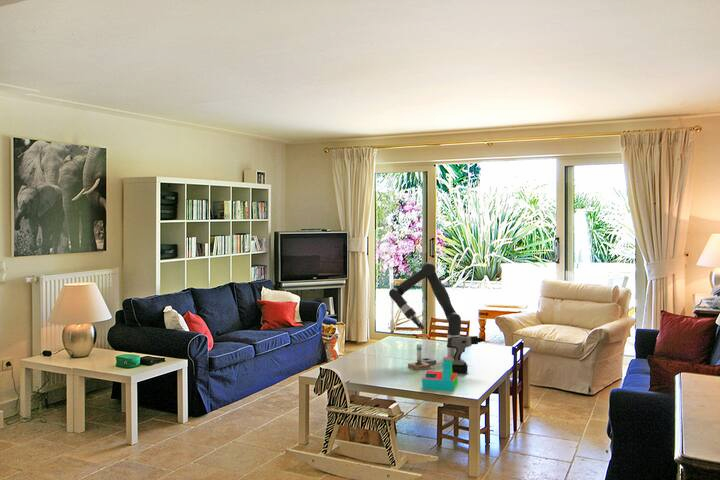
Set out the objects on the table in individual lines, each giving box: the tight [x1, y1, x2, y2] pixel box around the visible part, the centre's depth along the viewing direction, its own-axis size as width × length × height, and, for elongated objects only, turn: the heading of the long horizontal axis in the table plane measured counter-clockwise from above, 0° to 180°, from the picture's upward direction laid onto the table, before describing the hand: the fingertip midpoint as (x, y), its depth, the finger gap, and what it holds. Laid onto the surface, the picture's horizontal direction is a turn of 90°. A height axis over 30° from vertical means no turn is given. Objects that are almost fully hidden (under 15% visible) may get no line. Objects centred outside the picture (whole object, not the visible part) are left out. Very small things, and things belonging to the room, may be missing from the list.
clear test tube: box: [416, 343, 423, 365], centre depth 422 cm, size 3×3×16 cm
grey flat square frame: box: [421, 357, 437, 365], centre depth 436 cm, size 10×10×2 cm
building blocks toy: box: [421, 356, 458, 392], centre depth 379 cm, size 19×25×18 cm
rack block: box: [407, 361, 432, 371], centre depth 422 cm, size 12×10×2 cm
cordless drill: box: [446, 335, 485, 375], centre depth 409 cm, size 8×24×25 cm, turn 78°
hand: (422, 328), depth 438 cm, fingers open, 8 cm apart
